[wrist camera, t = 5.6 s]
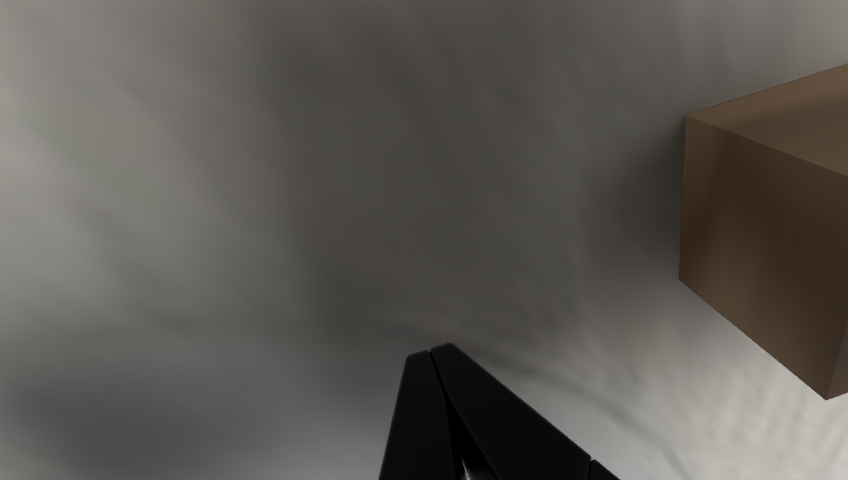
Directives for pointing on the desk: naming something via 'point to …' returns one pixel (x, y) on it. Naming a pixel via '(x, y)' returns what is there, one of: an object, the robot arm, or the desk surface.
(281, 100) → the desk surface
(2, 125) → the desk surface
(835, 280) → the brown wooden block
